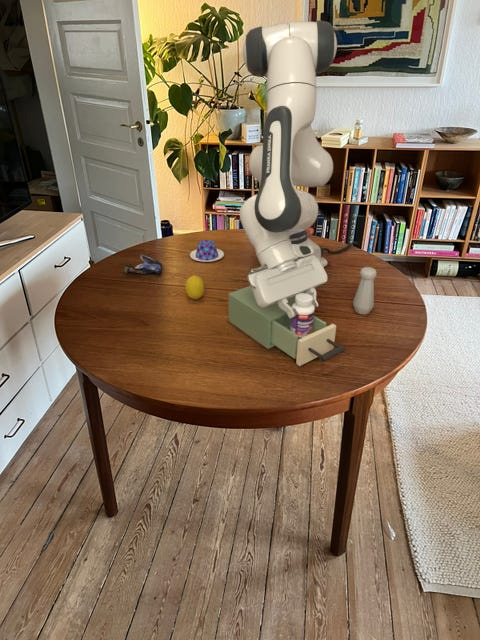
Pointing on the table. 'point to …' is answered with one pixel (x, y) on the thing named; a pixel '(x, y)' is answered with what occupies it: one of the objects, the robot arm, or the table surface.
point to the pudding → (206, 252)
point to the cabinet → (254, 315)
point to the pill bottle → (303, 315)
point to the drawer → (305, 341)
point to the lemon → (194, 287)
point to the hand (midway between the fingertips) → (304, 312)
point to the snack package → (145, 266)
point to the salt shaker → (365, 291)
